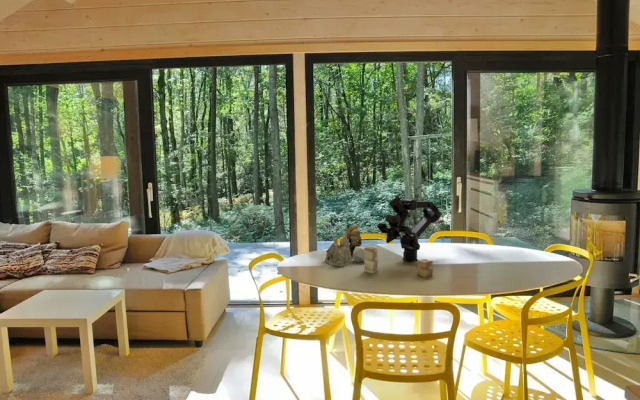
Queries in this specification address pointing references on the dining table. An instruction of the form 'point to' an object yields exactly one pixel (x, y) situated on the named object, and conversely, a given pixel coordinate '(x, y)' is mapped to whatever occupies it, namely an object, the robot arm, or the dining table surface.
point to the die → (359, 254)
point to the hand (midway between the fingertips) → (387, 242)
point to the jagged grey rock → (339, 253)
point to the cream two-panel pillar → (371, 259)
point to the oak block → (424, 267)
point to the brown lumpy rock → (354, 238)
